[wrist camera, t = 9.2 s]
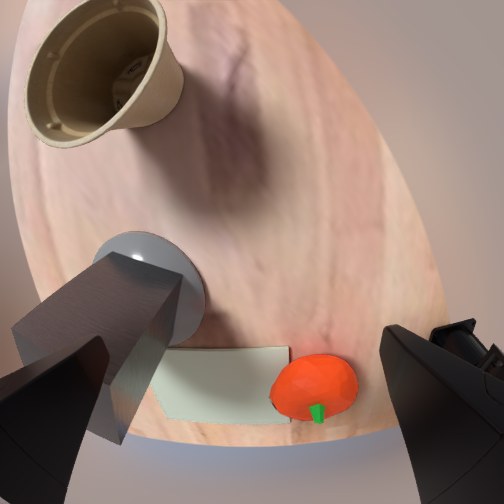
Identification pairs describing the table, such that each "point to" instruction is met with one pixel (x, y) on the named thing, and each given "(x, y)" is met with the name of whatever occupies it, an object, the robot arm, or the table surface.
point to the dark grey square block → (109, 330)
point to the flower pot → (102, 72)
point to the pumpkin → (314, 388)
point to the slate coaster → (172, 259)
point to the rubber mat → (220, 384)
